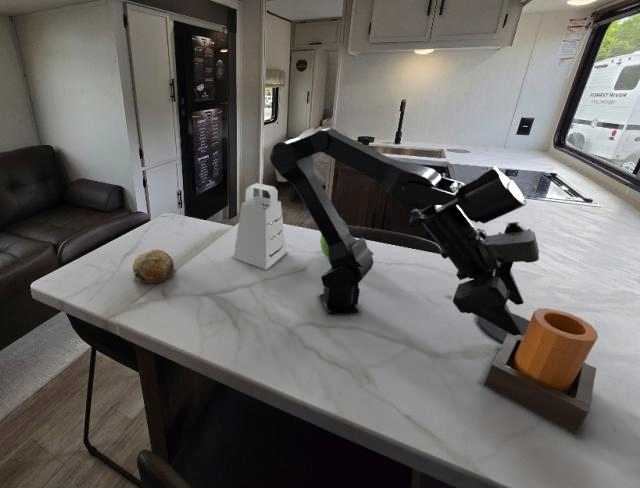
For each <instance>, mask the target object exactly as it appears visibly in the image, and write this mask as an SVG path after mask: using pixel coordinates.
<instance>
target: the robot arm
mask: <svg viewBox="0 0 640 488" xmlns="http://www.w3.org/2000/svg"><path fill="white" fill-rule="evenodd" d="M318 153H323V154H325V155H327V156H328V157H331V158H332V159H334V160H336V161H338V162H340V163H341V164H344V165H346V166H348V167H349V168H351V169H352V170H355V171H357V172H359V173H361V174H362V175H365V176H366V177H368V178H370V179H372V180H374V181H375V182H376V183H378V184H380V185H381V186H382V188H383V189H384V190H385V191H386V193H387V194H388V195H389V196H390V197H392V198H393V199H394V200H395V201H397V202H399V203H400V204H401V205H402V206H403V207H405V208H407V209H410V210H411V212H410V220H409V224H408V228H410V229H413V228H415V227H417V226H419V225H421V224H423V226H424V228H426V230H427V231H428V233H429V234H430V235H431V237H432V238H433V239H434V240H435V242H436V243H437V244H438V246H439V247H440V248H441V252H440V256H441V257H442V258H443V259H444V260H445V259H449V260H450V261H451V263H452V264H453V266H454V267H455V268H456V269H457V271H456V275H455V276H456V277H457V278H458V279H459V281H462V280H465V279H469V280H467V281H465V282H461V283H459V284H457V288H456V290H455V293H454V296H453V300H452V303H453V304H454V306H455V307H456V309H457V310H458V312H460V313H462V314H473V315H475V316H476V317H481V318H483V319H485V320H487V321H488V322H490V323H492V324H494V325H495V326H497V327H499V328H501V329H502V330H504V331H506V332H508V333H509V334H511V335H513V336H516V335H520V334H521V331H520V329H519V327H518V325H517V323H516V321H515V319H514V317H513V316H512V314H513V313H512V312H511V310H510V309H509V306H508V305H507V303H508V301H510V302H512V303H513V304H515V306H520V305H523V304H524V303H525V302H524V298H523V297H522V294H521V291H520V289H519V287H518V285H517V281H516V280H515V277H514V275H513V272H512V268H513V265H514V263H523V262H524V263H528V264H529V263H534V262H535V263H536V262H537V261H539V260H540V250H539V246H538V245H539V244H538V241H537V237H536V232H535V231H533V230H532V228H526V227H525V226H524V225H523V224H522V223H521V222H519V221H513V222H508V223H507V224H506V227H505V229H504V232H502V231H498V233H497V234H492V235H491V234H490V235H489V234H488V232H487V231H485V229H481V228H480V227H479V228H476V227H475V226H474V224H473V223H472V222H474V223H476V224H477V223H481V224H487V223H489V222H492V221H494V220H496V219H498V218H500V217H502V216H505V215H507V214H509V213H512V212H514V211H516V210H518V209H521V208H523V207H525V206H527V201H526V199H525V196H524V195H523V193H522V191H521V189H520V188H519V187H518V186H517V185H516V183H515V182H514V180H513V179H512V180H511V179H509V177H507V176H506V175H505V174H504V173H502V172H501V171H500V170H499V169H498V168H497V167H496V166H491V167H489V168H488V169H486V170H485V171H484V172H483V173H481V174H480V175H478V176H476V177H474V178H472V179H471V180H469V181H467V182H465V183H464V182H461V181H459V180H454V179H451V178H448V177H443V176H441V174H440V173H439V172H438V171H436V169H434V168H431V167H428V166H425V165H421V164H417V163H414V162H409V161H402V160H397V159H394V158H391V157H389V156H387V155H385V154H383V153H381V152H379V151H377V150H375V149H373V148H371V147H369V146H368V145H365V144H363V143H360V141H356V140H354V139H353V138H350V137H348V136H346V135H345V134H343V133H340V132H339V131H338V130H337V129H335V128H332V127H326V128H323V129H319V130H317V131H315V133H312V134H310V135H308V136H305V137H303V138H299V137H294V138H291V139H287V140H283V141H280V142H277V143H275V144H274V145H273V146H272V148H271V150H270V155H269V160H270V163H271V166H273V168H274V169H275V170H276V171H277V173H278V174H279V175H280V177H282V178H283V179H284V180H286V181H287V182H289V183H290V184H291V185H293V187H294V189H295V190H296V191H297V193H298V195H299V197H300V198H301V200H302V203H303V204H304V206H305V207H306V209H307V211H308V212H309V215H310V216H311V218H312V220H313V222H314V223H315V225H316V227H317V229H318V231H319V233H320V234H321V235H322V236H323V238H324V239H325V241H326V243H327V245H328V249H329V258H328V259H329V260H328V261H329V264H330V267H329V269H327V270H326V271H325V272H324V273H323V274H322V275H321V277H320V279H321V284H322V286H323V293H321V294H320V295H319V298H320V299H321V301H322V303H323V305H324V308H325V309H326V312H327V314H328V315H342V314H344V315H345V314H357V313H359V308H358V307H357V305H358V304H359V298H360V293H361V288H360V287H359V285H360V282H361V281H363V279H364V278H365V277H366V276H367V275H368V273H369V272H370V271H371V270H372V268H373V266H374V258H373V255H374V252H373V251H372V250H371V249H370V247H369V246H368V244H367V240H366V239H365V238H364V237H360V238H359V239H357V238H356V237H354V236H352V235H351V233H350V232H349V233H350V234H349V233H348V231H347V229H346V227H345V226H344V224H343V222H342V220H341V219H340V218H341V217H340V215H339V214H338V212H337V210H336V208H335V207H334V205H333V203H332V201H331V199H330V198H329V196H328V194H327V192H326V190H325V188H324V187H323V185H322V184H321V182H320V179H319V178H318V176H317V175H316V169H315V159H314V156H313V155H316V154H318ZM511 313H512V314H511Z"/></svg>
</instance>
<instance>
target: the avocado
mask: <svg viewBox="0 0 640 488" xmlns="http://www.w3.org/2000/svg"><path fill="white" fill-rule="evenodd" d="M340 219H341V220H342V222H343V224H344V226H345V227H346V229H347V231H348V233H349V234H350V235H351V233H350V229H349V227H348V225H347V223H346V221H345V220H344V219H343V218H342V217H340ZM319 243H320V248H321V252H322V254H323V255H324V256H325V257H327V258H328V259H329V249H328V245H327V243H326V241H325V239H324V238H323V236H322V234H321V235H320V241H319Z"/></svg>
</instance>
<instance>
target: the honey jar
mask: <svg viewBox="0 0 640 488" xmlns="http://www.w3.org/2000/svg"><path fill="white" fill-rule="evenodd" d="M529 321H530V322H529V325H528V327H527V329H526V332H525V334H524V336H523V339H522V341H521V343H520V345H519V348H518V350H517V352H516V355H515V357H514V359H513V360H512V362H511V363H510V366H509V367H510V368H512V369H514V370H516V371H518V372H520V373H523V374H525V375H527V376H529V377H531V378H533V379H535V380H537V381H539V382H541V383H543V384H545V385H547V386H549V387H551V388H553V389H555V390H557V391H559V392H561V393H563V394H566V395H568V393H569V392H570V390H571V388H570V387H571V385H572V384H573V382H574V380H575V378H576V376H577V374H578V373H579V371H580V369H581V367H582V365H583V364H584V363H586V360H587V358H588V356H589V354H590V353H591V351H592V349H593V347H594V345H595V344H596V341H597V340H598V338H599V336H598V331H597V330H596V329H595V327H593V326H592V324H590V323H588V322H587V321H585V320H584V319H582V318H581V317H579V316H576V315H574V314H572V313H569V312H566V311H564V310H560V309H556V308H547V307H545V308H544V307H542V308H538V309H536V310H534V311H533V314H532V316H531V317H530V320H529Z"/></svg>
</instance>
